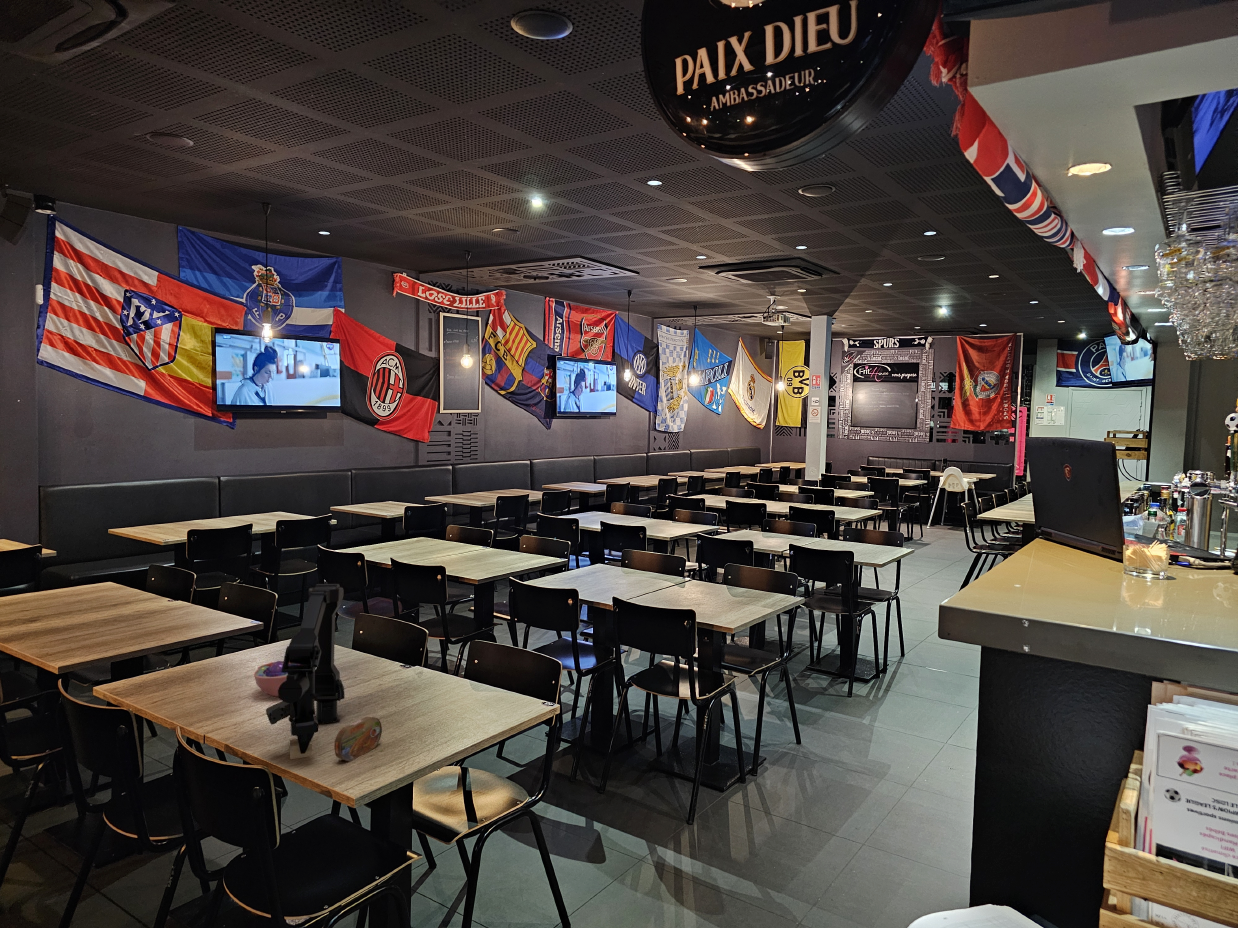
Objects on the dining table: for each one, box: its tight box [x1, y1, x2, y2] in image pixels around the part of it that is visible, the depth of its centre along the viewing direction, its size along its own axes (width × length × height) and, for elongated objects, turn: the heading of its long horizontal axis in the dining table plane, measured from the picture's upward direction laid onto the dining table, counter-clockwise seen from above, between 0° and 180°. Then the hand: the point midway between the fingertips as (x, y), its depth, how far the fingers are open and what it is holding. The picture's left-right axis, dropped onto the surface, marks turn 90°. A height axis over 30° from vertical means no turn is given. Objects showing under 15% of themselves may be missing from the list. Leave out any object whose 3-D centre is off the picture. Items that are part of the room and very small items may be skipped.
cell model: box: [253, 660, 300, 698], centre depth 237 cm, size 17×20×11 cm
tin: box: [333, 716, 383, 762], centre depth 192 cm, size 15×3×8 cm, turn 157°
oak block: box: [288, 738, 313, 760], centre depth 191 cm, size 5×5×3 cm
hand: (302, 749), depth 192 cm, fingers closed on oak block, 5 cm apart
